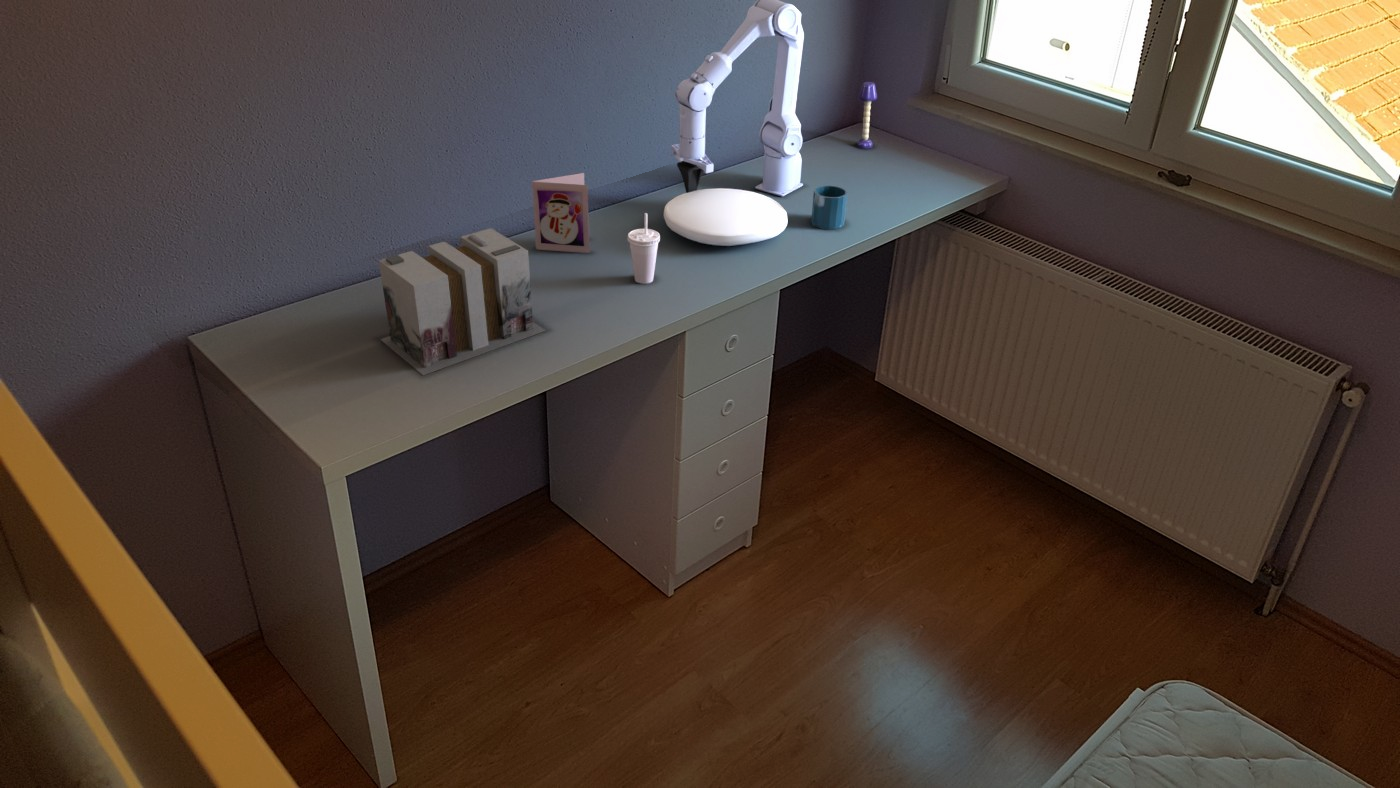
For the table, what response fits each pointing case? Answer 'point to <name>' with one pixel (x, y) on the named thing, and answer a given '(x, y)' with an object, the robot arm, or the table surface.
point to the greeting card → (561, 214)
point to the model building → (457, 300)
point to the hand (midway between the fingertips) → (691, 193)
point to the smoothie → (643, 252)
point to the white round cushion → (725, 216)
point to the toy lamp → (866, 112)
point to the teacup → (829, 207)
